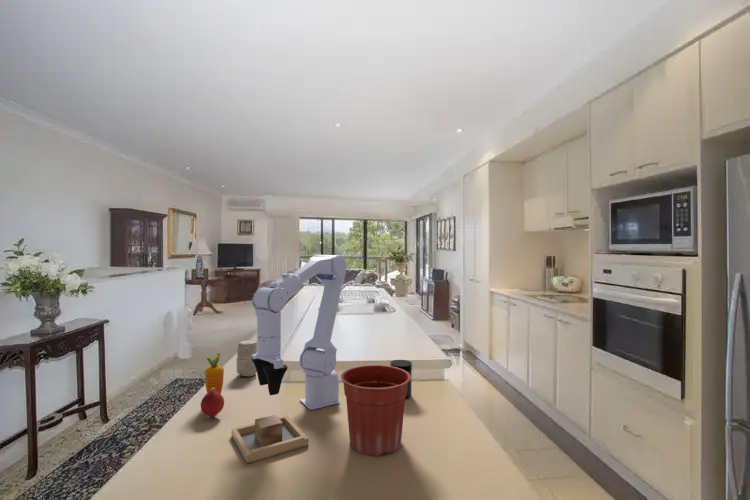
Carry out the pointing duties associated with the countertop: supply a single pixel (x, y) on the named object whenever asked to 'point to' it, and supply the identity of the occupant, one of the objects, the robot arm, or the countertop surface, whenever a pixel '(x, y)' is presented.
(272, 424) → the walnut block
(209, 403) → the onion
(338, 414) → the countertop surface
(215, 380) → the carrot
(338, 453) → the countertop surface
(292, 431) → the slate tray
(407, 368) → the supplement container
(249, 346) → the carving
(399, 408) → the flower pot
